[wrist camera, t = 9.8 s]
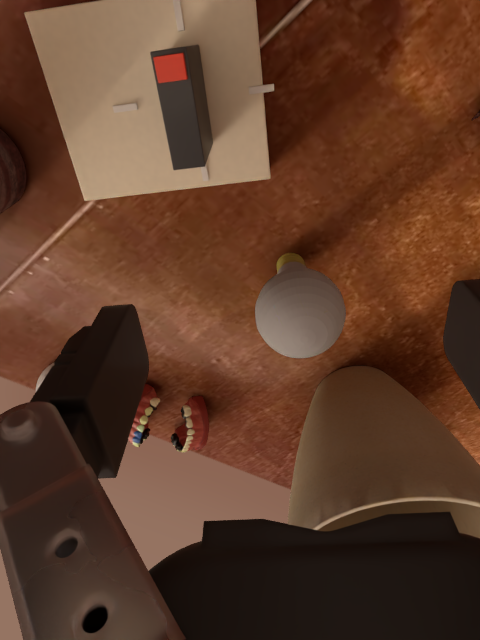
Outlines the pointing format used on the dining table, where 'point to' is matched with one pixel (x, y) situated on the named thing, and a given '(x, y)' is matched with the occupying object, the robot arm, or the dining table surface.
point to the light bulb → (299, 310)
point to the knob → (183, 105)
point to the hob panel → (152, 90)
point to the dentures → (185, 435)
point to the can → (10, 173)
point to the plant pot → (378, 457)
